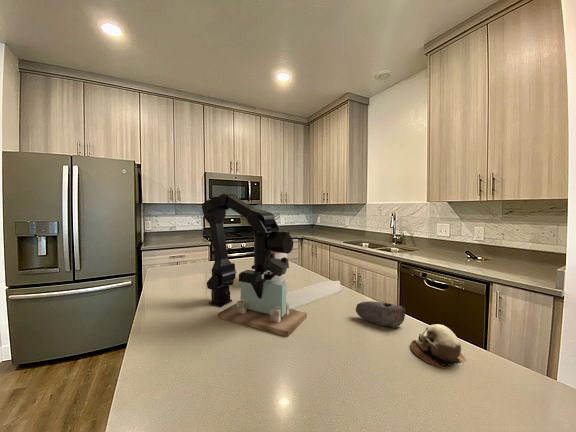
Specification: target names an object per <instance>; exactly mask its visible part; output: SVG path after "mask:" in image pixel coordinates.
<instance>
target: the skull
mask: <svg viewBox="0 0 576 432" xmlns="http://www.w3.org/2000/svg"><path fill="white" fill-rule="evenodd" d="M410 347H411V350H412V352H413V353H414V354H415V355H416V357H418V358H419V359H421V360H422V361H424V362H426V363H428V364H429V365H432V366H435V367H437V368H440V369H446V370H449V368H451V367H452V366H451V365H453V364H456V365H458V364H463V365H464V363H466V362H467V360H466V358H465V356H464V355H463V354H462V345H461V342H460V340H459V338H458V337H457V336H456V334H455V333H454V332H453V331H452V330H451V329H450V328H449V327H448V326H445V325H444V324H438V323H436V324H430V326H427V327H426V328H425V329H423V331H420V332H419V334H418V336H417V337H416V338H415V339H414V340H412V341H411V343H410Z"/></svg>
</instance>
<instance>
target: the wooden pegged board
mask: <svg viewBox="0 0 576 432" xmlns="http://www.w3.org/2000/svg"><path fill="white" fill-rule="evenodd" d="M307 313H308V312H305V311H301V310H296V309H294V310H292V309H289V303H286V314H285V315H284V316H282V317H281V310H279V309H274V308H272V309H270V314H267V313H263V312H259V311H255V310H251V309H246V302H243V301H241V300H238V301H236V303H234V304H232V305H230V306H229V307H227V308H225V309H223V310H222V311H219V312H218V313H217V317H218V319H223V320H225V321H229V322H233V323H237V324H241V325H244V326H247V327H252V328H256V329H258V330H261V331H266V332H270V333H273V334H277V335H280V336H282V337H283V336H284V337H287V338H288V337H289V336H291V334H292V333H293V332H294V331H296V330H297V328H298V327H299V326H300V325H301V324H302V323H303V322H304V321H305V319H307V317H308V314H307Z"/></svg>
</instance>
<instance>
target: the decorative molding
mask: <svg viewBox="0 0 576 432" xmlns="http://www.w3.org/2000/svg"><path fill="white" fill-rule="evenodd" d="M340 291H341V292H342V291H343V290H342V284H341V281H340V280H330V281H329V280H328V281H327V280H326V281H320V282H317V283H314V284H310V285H307V286H305V287H301V288H298V289H294V290H291V291H288V292H286V303H289V309H292V310H296V309H299V308H301V307H303V306H307V305H309V304H311V303H315V302H317V301H319V300H322V299H325V298H327V296H328V297H329V296H333V295H336V294H338V293H340ZM332 294H333V295H332ZM324 297H325V298H324Z"/></svg>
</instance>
